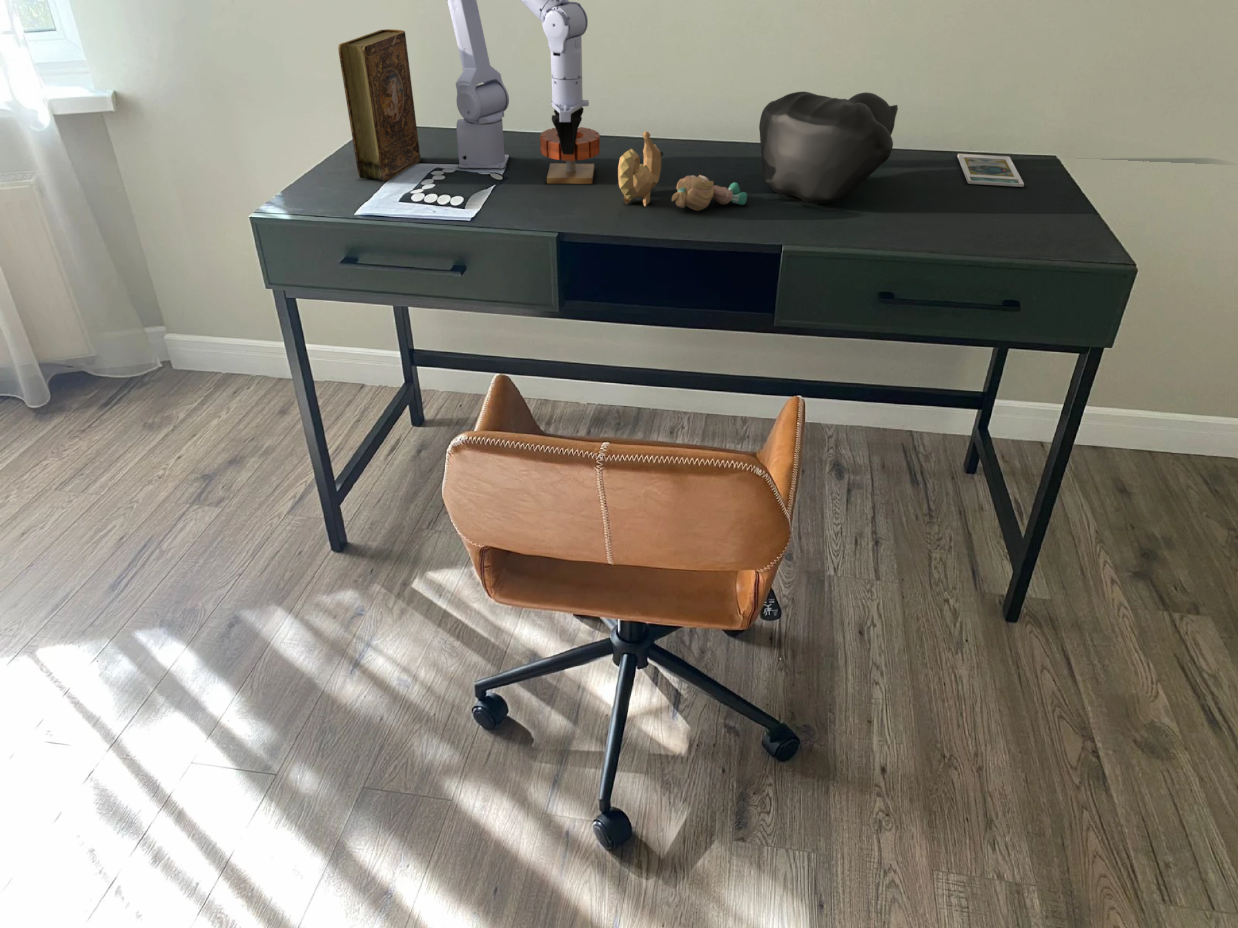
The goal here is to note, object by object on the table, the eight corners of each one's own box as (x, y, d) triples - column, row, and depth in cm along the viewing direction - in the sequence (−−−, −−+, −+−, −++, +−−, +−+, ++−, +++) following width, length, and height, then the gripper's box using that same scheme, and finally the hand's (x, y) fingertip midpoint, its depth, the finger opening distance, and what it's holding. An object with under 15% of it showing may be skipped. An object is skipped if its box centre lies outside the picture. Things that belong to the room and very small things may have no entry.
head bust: (729, 108, 167) (820, 47, 181) (734, 206, 182) (819, 142, 195) (860, 139, 152) (950, 69, 166) (856, 243, 166) (938, 171, 180)
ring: (538, 160, 175) (537, 143, 173) (543, 142, 185) (543, 126, 183) (598, 161, 175) (598, 144, 173) (600, 143, 185) (600, 127, 183)
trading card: (1009, 156, 193) (1024, 184, 178) (1008, 159, 193) (1023, 187, 179) (957, 153, 194) (968, 180, 180) (957, 156, 195) (967, 183, 180)
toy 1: (608, 151, 157) (644, 120, 173) (608, 218, 165) (643, 182, 180) (637, 154, 156) (671, 122, 171) (636, 222, 163) (668, 186, 178)
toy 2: (756, 182, 167) (686, 163, 160) (749, 220, 168) (679, 204, 161) (732, 185, 174) (664, 168, 167) (726, 222, 175) (658, 206, 169)
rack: (546, 183, 179) (545, 154, 176) (550, 169, 187) (549, 141, 183) (592, 184, 179) (591, 155, 176) (594, 169, 187) (593, 141, 183)
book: (400, 156, 193) (383, 29, 178) (423, 159, 192) (408, 30, 177) (359, 180, 180) (337, 45, 166) (383, 183, 179) (363, 47, 164)
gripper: (586, 86, 162) (587, 162, 170) (590, 67, 174) (591, 140, 182) (547, 85, 162) (550, 162, 170) (553, 67, 174) (556, 139, 182)
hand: (568, 150), depth 176 cm, fingers closed on ring, 3 cm apart
